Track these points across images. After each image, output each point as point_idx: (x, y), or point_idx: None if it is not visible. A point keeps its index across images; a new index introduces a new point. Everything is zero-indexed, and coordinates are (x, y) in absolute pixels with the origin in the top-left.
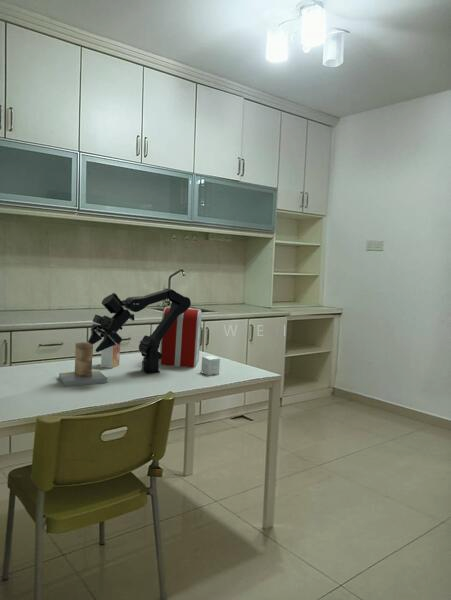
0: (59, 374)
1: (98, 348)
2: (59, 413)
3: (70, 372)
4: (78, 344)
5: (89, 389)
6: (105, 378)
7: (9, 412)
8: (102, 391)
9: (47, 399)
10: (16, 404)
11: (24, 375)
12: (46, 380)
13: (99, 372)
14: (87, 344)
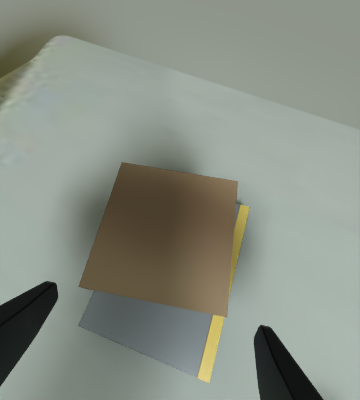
0: (242, 207)
1: (11, 304)
2: (5, 89)
3: (233, 241)
4: (172, 171)
5: (75, 220)
6: (83, 318)
7: (84, 45)
8: (27, 240)
9: (92, 108)
10: (112, 64)
11: (314, 152)
12: (236, 172)
13: (169, 354)
14: (116, 233)
